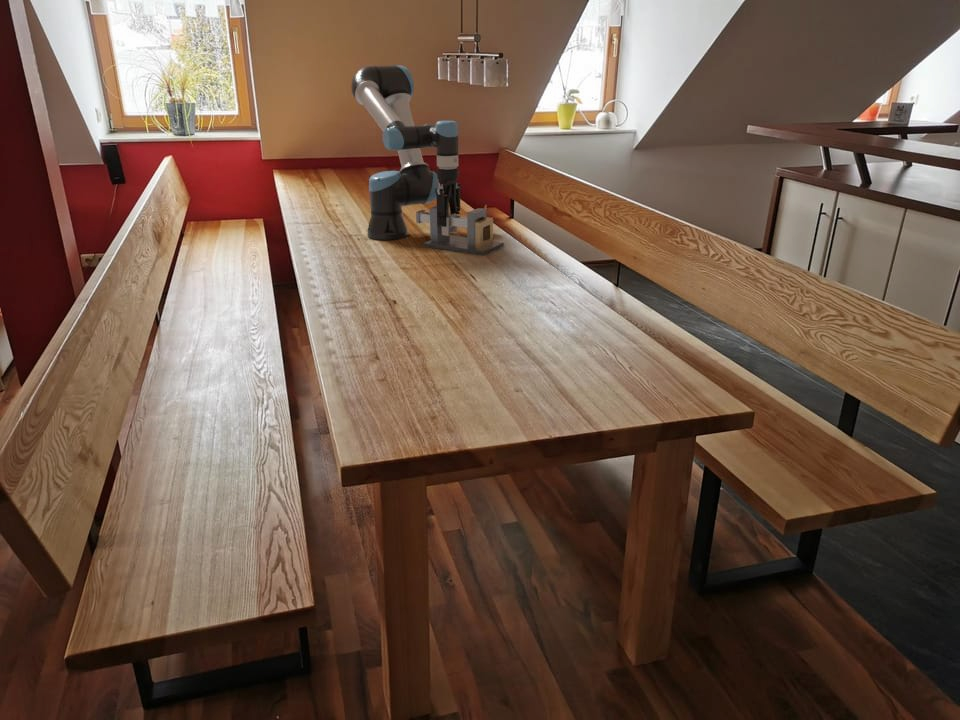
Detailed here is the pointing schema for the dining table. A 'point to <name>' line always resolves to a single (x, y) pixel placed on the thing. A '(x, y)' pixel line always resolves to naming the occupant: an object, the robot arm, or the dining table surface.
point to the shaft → (453, 219)
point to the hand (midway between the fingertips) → (449, 233)
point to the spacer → (479, 232)
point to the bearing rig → (459, 242)
